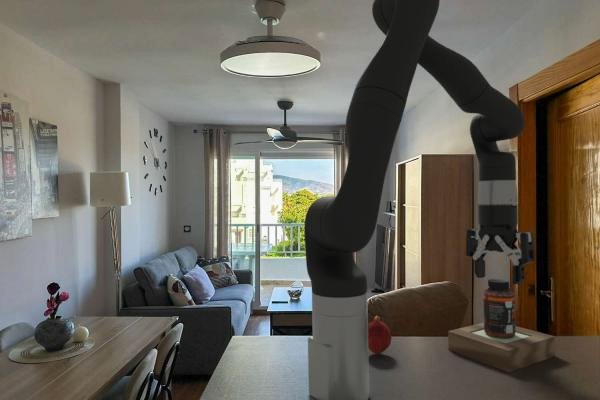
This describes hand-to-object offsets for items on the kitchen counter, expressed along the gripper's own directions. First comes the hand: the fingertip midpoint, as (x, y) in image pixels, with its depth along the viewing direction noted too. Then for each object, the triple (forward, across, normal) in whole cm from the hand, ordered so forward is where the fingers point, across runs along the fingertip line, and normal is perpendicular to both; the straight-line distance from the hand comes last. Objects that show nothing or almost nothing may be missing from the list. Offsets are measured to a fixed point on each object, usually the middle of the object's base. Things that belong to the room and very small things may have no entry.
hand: (498, 280), depth 88 cm
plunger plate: (+12, 0, 0) cm, 12 cm away
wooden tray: (+15, 0, 0) cm, 15 cm away
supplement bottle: (+12, 0, 0) cm, 12 cm away
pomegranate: (+16, -13, -22) cm, 30 cm away
